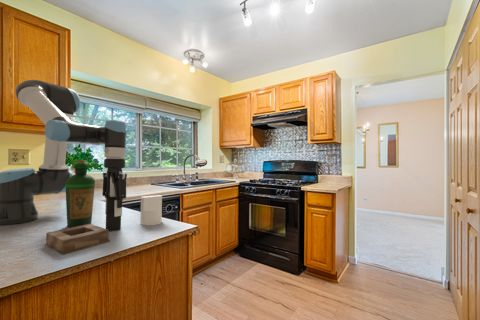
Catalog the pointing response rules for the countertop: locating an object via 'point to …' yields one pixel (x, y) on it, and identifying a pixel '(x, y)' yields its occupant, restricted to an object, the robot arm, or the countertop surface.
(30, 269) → the countertop surface
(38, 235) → the countertop surface
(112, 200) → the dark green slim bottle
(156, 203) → the white upright cylinder
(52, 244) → the walnut holder
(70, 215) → the bottle
